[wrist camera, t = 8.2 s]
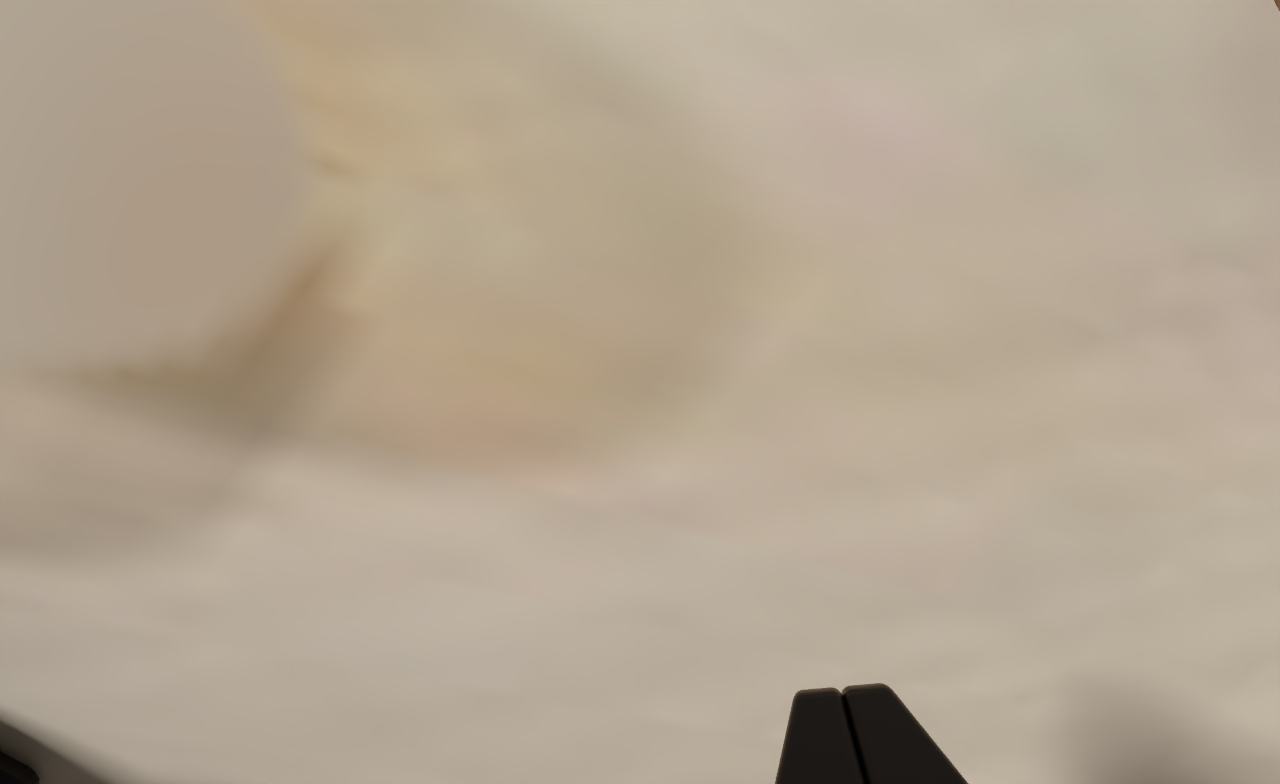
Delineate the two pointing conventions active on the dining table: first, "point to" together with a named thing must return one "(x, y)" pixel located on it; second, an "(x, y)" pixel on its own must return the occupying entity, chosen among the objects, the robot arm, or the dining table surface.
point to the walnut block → (1277, 3)
